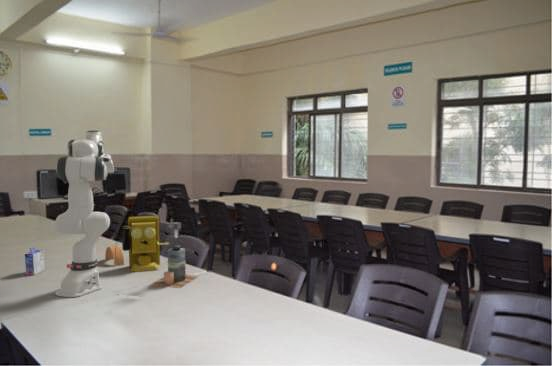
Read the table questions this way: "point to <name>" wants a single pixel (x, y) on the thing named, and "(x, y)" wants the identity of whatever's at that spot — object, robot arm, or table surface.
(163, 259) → the table surface
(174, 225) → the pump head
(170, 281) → the pink egg shape
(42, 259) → the ink cartridge box
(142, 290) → the table surface
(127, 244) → the vintage telephone
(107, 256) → the arch
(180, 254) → the stand
